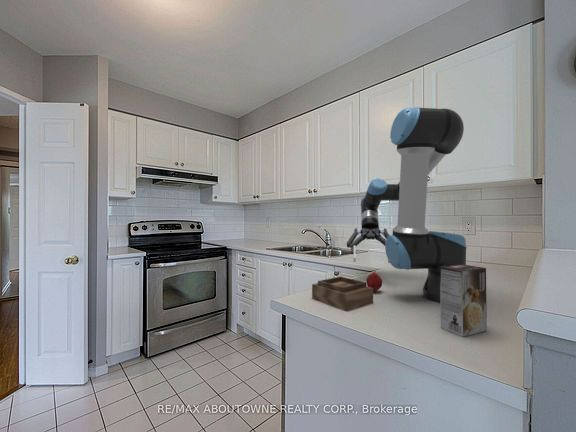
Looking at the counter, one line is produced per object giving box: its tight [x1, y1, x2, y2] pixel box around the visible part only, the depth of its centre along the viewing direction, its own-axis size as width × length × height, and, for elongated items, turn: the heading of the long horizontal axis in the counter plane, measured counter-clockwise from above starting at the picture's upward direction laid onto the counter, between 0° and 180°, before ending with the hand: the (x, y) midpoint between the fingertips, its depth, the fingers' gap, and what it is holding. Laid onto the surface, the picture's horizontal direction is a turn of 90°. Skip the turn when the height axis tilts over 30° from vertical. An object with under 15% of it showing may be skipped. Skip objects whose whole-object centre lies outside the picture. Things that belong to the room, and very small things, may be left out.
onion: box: [365, 270, 383, 293], centre depth 105 cm, size 6×6×8 cm
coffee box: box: [439, 264, 488, 338], centre depth 71 cm, size 9×6×16 cm
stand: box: [311, 276, 374, 312], centre depth 95 cm, size 16×13×6 cm
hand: (371, 260), depth 112 cm, fingers open, 13 cm apart
